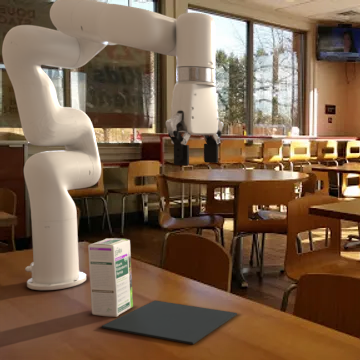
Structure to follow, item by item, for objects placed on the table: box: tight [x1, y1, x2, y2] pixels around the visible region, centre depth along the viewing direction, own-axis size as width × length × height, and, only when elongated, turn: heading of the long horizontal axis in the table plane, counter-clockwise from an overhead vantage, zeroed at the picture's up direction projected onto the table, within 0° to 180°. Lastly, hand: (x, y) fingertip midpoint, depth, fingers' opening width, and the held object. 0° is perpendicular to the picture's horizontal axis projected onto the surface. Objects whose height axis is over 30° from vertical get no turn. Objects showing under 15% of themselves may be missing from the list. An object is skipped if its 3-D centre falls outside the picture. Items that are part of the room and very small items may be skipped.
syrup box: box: [87, 237, 134, 318], centre depth 100 cm, size 6×6×14 cm
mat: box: [101, 300, 238, 345], centre depth 95 cm, size 20×15×1 cm
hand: (196, 163), depth 100 cm, fingers open, 9 cm apart
